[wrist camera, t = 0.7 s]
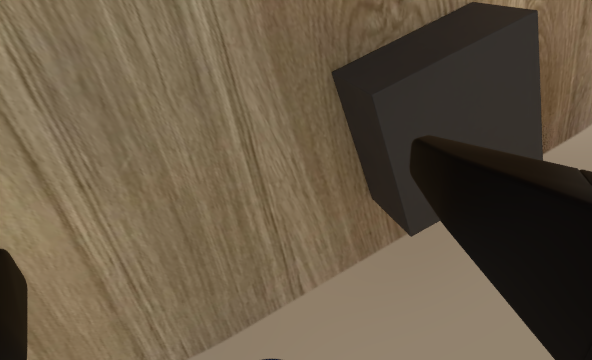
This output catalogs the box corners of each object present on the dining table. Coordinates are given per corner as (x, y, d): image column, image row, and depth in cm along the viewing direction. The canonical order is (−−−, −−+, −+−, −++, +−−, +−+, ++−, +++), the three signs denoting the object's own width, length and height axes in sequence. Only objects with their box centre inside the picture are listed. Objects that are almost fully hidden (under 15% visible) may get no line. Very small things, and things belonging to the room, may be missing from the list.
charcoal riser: (488, 136, 32) (543, 163, 27) (372, 198, 31) (411, 237, 26) (472, 1, 26) (538, 10, 22) (330, 72, 25) (371, 95, 21)
